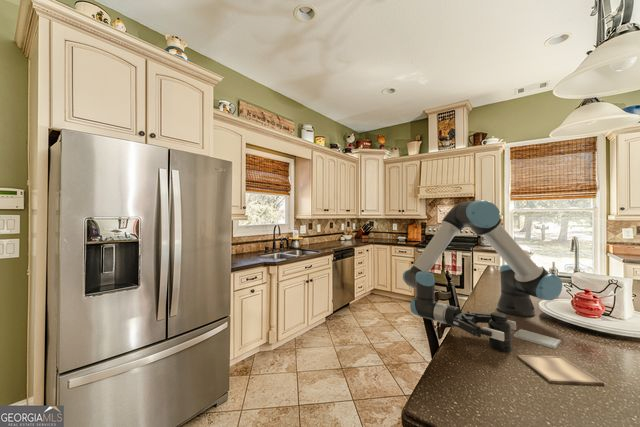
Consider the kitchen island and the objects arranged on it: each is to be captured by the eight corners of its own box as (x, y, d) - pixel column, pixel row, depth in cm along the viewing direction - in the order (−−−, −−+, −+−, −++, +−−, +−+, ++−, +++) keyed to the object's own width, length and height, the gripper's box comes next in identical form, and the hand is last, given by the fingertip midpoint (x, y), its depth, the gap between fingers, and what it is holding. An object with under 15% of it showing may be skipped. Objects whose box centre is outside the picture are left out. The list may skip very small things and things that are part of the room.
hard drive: (513, 334, 104) (555, 345, 94) (520, 328, 109) (560, 339, 99) (513, 338, 103) (555, 350, 94) (520, 332, 109) (561, 343, 99)
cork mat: (561, 358, 87) (561, 356, 87) (603, 385, 73) (603, 382, 73) (516, 357, 88) (516, 354, 88) (549, 382, 74) (549, 380, 74)
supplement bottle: (507, 345, 97) (507, 312, 97) (514, 354, 90) (514, 318, 90) (486, 342, 99) (485, 310, 99) (491, 351, 92) (490, 316, 93)
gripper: (461, 316, 116) (520, 331, 100) (433, 332, 100) (498, 354, 84) (460, 299, 117) (519, 311, 100) (433, 312, 100) (498, 330, 84)
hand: (510, 331), depth 92 cm, fingers open, 13 cm apart
